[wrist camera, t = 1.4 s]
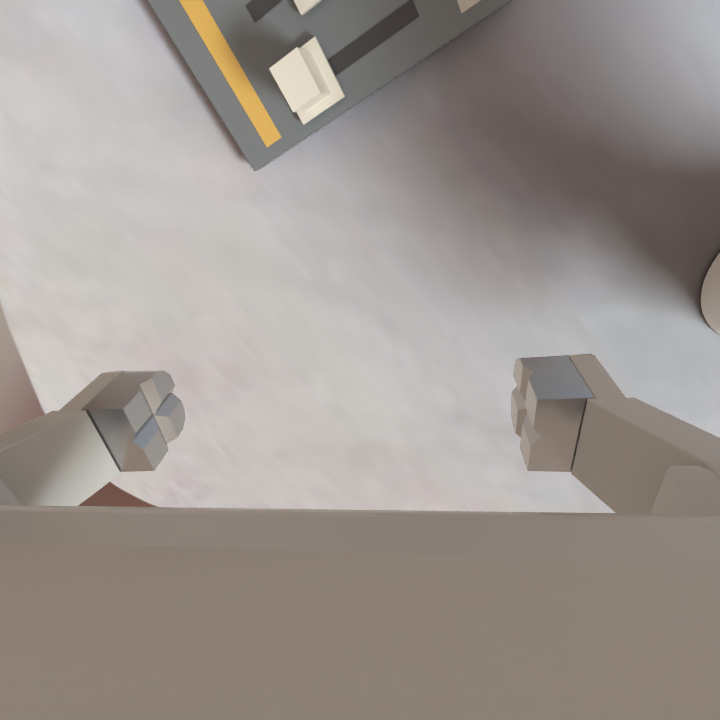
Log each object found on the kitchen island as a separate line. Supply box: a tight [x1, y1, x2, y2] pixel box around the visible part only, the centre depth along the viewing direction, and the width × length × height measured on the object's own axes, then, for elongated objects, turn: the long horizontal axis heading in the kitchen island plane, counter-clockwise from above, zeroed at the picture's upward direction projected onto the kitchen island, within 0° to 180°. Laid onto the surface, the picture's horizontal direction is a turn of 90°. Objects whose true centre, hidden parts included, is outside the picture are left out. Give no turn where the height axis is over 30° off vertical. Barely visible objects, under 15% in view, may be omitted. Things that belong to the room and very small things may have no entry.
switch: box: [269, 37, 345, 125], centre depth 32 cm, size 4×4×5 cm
